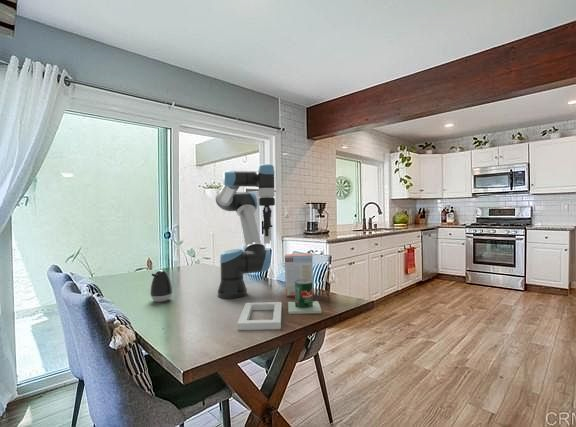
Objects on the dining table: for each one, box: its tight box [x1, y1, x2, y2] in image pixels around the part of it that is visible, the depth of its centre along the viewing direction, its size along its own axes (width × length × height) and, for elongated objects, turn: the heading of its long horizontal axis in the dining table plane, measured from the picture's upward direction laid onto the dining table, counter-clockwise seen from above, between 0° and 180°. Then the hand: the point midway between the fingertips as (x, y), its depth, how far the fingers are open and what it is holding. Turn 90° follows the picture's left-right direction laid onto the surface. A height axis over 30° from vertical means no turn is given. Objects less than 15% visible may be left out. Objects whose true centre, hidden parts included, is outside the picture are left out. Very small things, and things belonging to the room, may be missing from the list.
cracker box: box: [284, 253, 314, 297], centre depth 164 cm, size 14×6×21 cm, turn 84°
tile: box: [287, 300, 323, 315], centre depth 143 cm, size 14×14×1 cm
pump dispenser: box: [149, 269, 173, 303], centre depth 160 cm, size 10×10×15 cm
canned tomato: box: [294, 279, 314, 309], centre depth 143 cm, size 8×8×11 cm
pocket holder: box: [236, 301, 283, 331], centre depth 131 cm, size 16×26×2 cm, turn 0°
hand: (267, 242), depth 153 cm, fingers open, 13 cm apart
